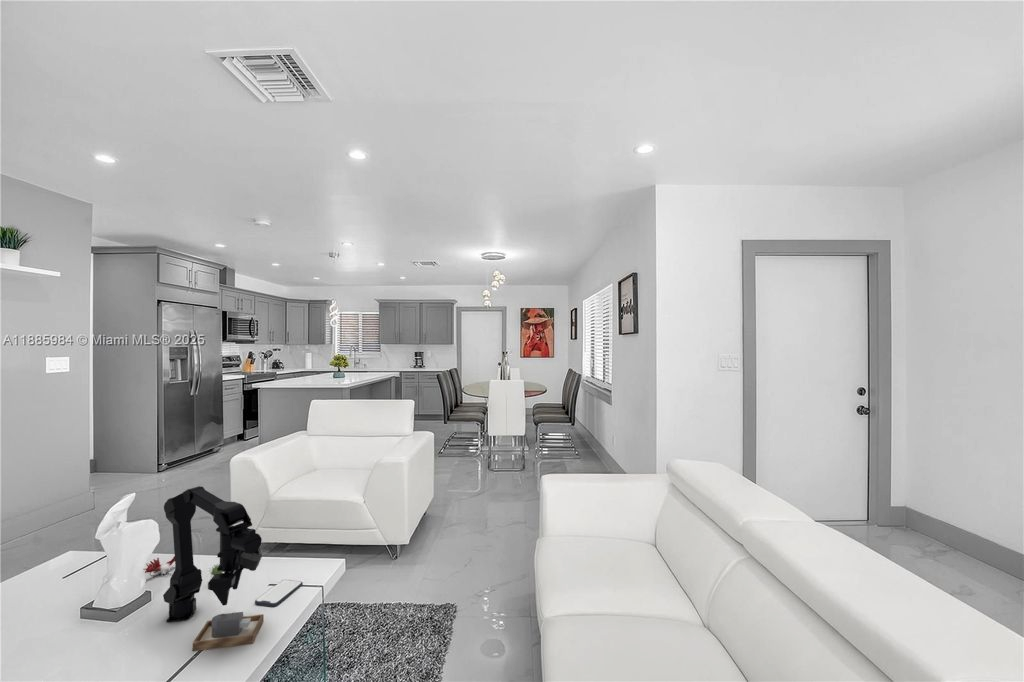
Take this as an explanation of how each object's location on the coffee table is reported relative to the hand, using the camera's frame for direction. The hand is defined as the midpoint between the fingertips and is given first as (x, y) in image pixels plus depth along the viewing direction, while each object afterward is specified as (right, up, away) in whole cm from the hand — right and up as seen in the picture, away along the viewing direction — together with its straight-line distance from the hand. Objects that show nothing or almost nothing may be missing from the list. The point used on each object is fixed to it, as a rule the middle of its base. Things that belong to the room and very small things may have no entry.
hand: (230, 596), depth 145 cm
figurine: (-49, -12, +37) cm, 63 cm away
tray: (0, -12, 0) cm, 12 cm away
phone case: (+4, -13, +24) cm, 27 cm away
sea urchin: (-23, -12, +29) cm, 39 cm away
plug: (0, -11, 0) cm, 11 cm away
